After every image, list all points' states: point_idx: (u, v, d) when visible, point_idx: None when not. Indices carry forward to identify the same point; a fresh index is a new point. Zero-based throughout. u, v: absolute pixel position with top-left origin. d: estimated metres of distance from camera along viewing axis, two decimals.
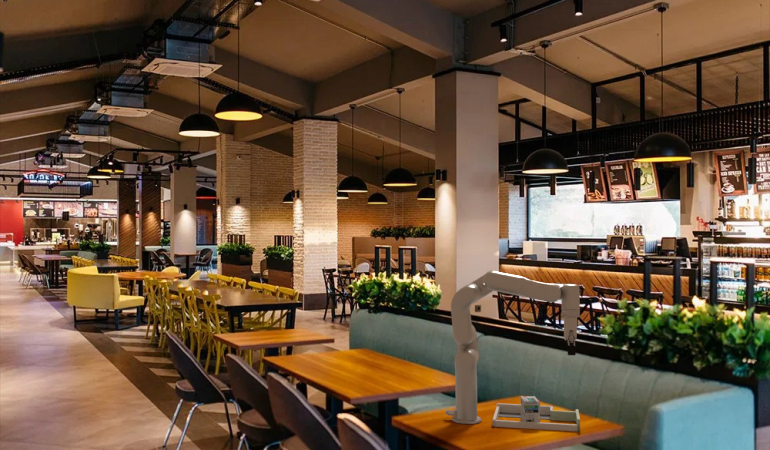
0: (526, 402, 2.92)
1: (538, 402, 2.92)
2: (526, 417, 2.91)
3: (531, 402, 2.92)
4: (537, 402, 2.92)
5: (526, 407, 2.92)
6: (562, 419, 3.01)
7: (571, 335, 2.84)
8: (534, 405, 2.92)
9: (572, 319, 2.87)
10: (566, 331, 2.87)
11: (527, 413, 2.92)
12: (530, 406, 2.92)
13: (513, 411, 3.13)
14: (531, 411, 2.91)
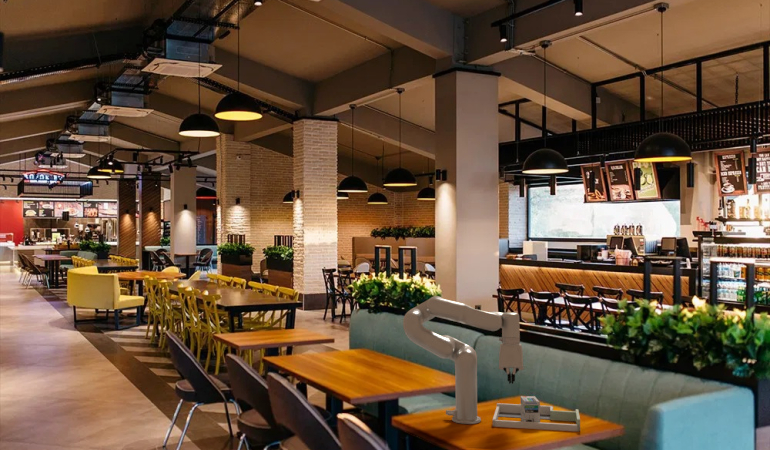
0: (526, 402, 2.92)
1: (538, 402, 2.92)
2: (526, 417, 2.91)
3: (531, 402, 2.92)
4: (537, 402, 2.92)
5: (526, 407, 2.92)
6: (562, 419, 3.01)
7: (523, 367, 2.98)
8: (534, 405, 2.92)
9: None
10: (522, 358, 2.96)
11: (527, 413, 2.91)
12: (530, 406, 2.92)
13: (513, 411, 3.13)
14: (531, 411, 2.91)
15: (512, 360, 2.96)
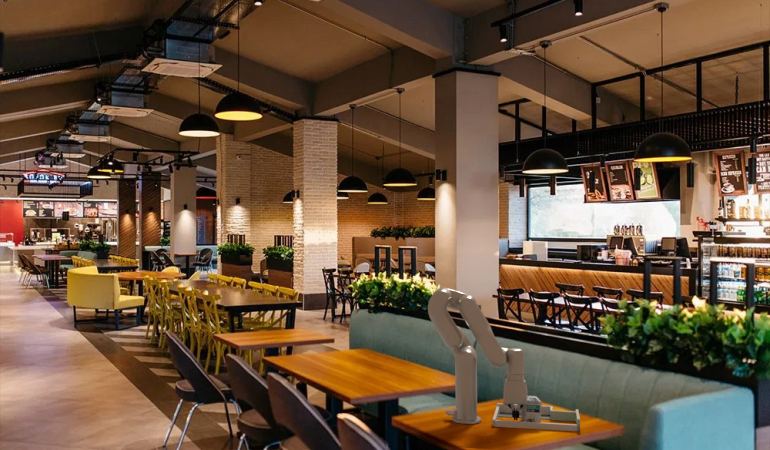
0: (528, 401, 2.92)
1: (540, 402, 2.92)
2: (527, 416, 2.91)
3: (533, 401, 2.92)
4: (539, 402, 2.92)
5: (527, 406, 2.92)
6: (562, 419, 3.01)
7: None
8: (536, 405, 2.91)
9: (525, 381, 2.98)
10: (526, 395, 2.95)
11: (528, 412, 2.91)
12: (532, 405, 2.92)
13: None
14: (532, 410, 2.91)
15: (516, 397, 2.95)
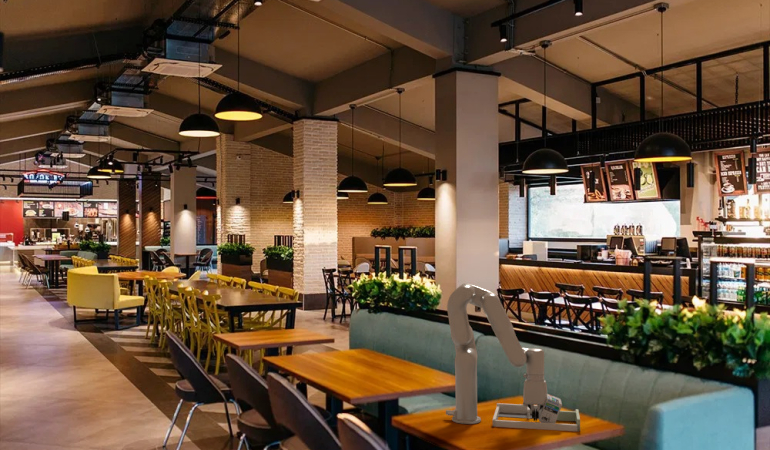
0: (549, 400, 2.90)
1: (560, 404, 2.89)
2: (543, 414, 2.90)
3: (553, 402, 2.89)
4: (559, 404, 2.89)
5: (547, 404, 2.90)
6: (562, 419, 3.01)
7: None
8: (555, 406, 2.89)
9: (545, 382, 2.96)
10: None
11: (545, 410, 2.90)
12: (551, 405, 2.89)
13: (513, 411, 3.13)
14: (550, 410, 2.89)
15: (536, 397, 2.94)
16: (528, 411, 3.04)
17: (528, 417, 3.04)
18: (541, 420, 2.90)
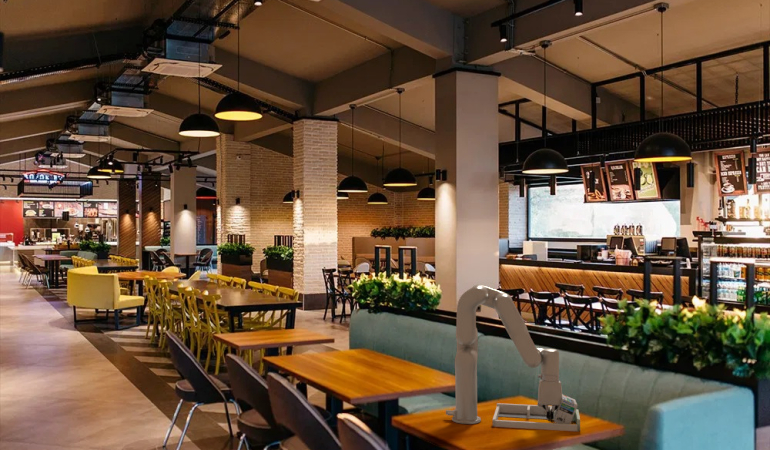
0: (564, 400, 2.89)
1: (576, 405, 2.88)
2: (558, 414, 2.89)
3: (569, 402, 2.88)
4: (575, 405, 2.88)
5: (562, 405, 2.89)
6: None
7: None
8: (570, 406, 2.88)
9: (560, 382, 2.95)
10: None
11: (561, 411, 2.89)
12: (566, 406, 2.88)
13: (513, 411, 3.13)
14: (565, 411, 2.88)
15: (551, 397, 2.92)
16: (528, 411, 3.04)
17: (528, 417, 3.04)
18: (556, 421, 2.89)
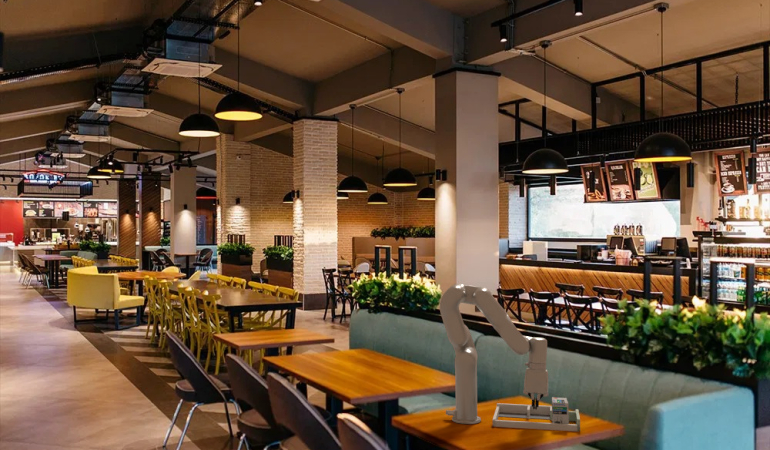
0: (554, 403, 2.89)
1: (566, 404, 2.88)
2: (554, 418, 2.89)
3: (559, 403, 2.89)
4: (565, 404, 2.88)
5: (554, 408, 2.89)
6: None
7: None
8: (562, 407, 2.88)
9: None
10: (547, 385, 2.93)
11: (555, 414, 2.89)
12: (558, 407, 2.89)
13: (513, 411, 3.13)
14: (559, 413, 2.89)
15: (537, 386, 2.93)
16: (528, 411, 3.04)
17: (528, 417, 3.04)
18: None
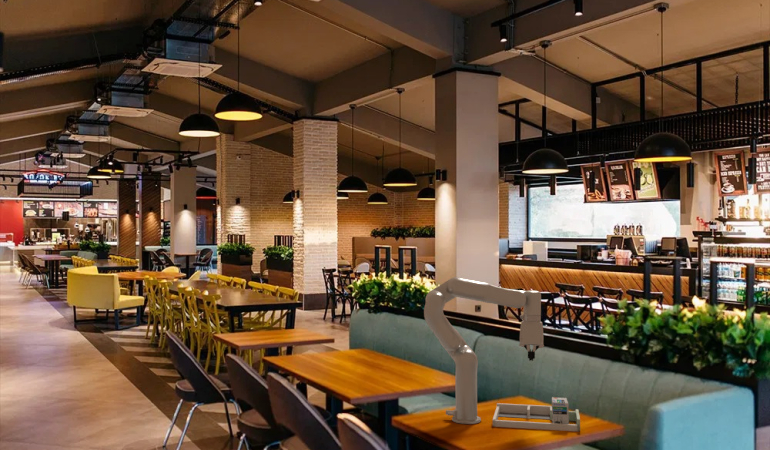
0: (554, 403, 2.89)
1: (567, 404, 2.88)
2: (554, 418, 2.89)
3: (559, 403, 2.89)
4: (565, 404, 2.88)
5: (554, 408, 2.89)
6: None
7: (543, 344, 3.01)
8: (562, 407, 2.88)
9: None
10: (542, 336, 2.99)
11: (555, 414, 2.89)
12: (558, 407, 2.89)
13: (513, 411, 3.13)
14: (559, 413, 2.89)
15: (532, 337, 2.99)
16: (528, 411, 3.04)
17: (528, 417, 3.04)
18: None
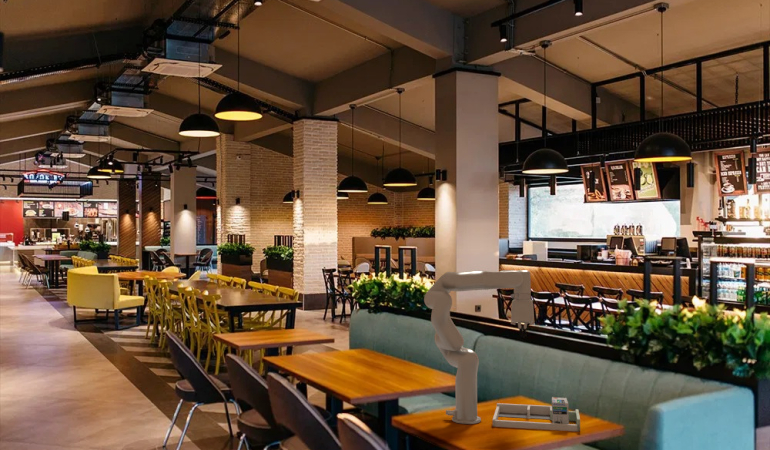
0: (554, 403, 2.89)
1: (566, 404, 2.88)
2: (554, 418, 2.89)
3: (559, 403, 2.89)
4: (565, 404, 2.88)
5: (554, 408, 2.89)
6: None
7: None
8: (562, 407, 2.88)
9: None
10: (533, 313, 3.10)
11: (555, 414, 2.89)
12: (558, 407, 2.89)
13: (513, 411, 3.13)
14: (559, 413, 2.89)
15: (523, 315, 3.10)
16: (528, 411, 3.04)
17: (528, 417, 3.04)
18: None
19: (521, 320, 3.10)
